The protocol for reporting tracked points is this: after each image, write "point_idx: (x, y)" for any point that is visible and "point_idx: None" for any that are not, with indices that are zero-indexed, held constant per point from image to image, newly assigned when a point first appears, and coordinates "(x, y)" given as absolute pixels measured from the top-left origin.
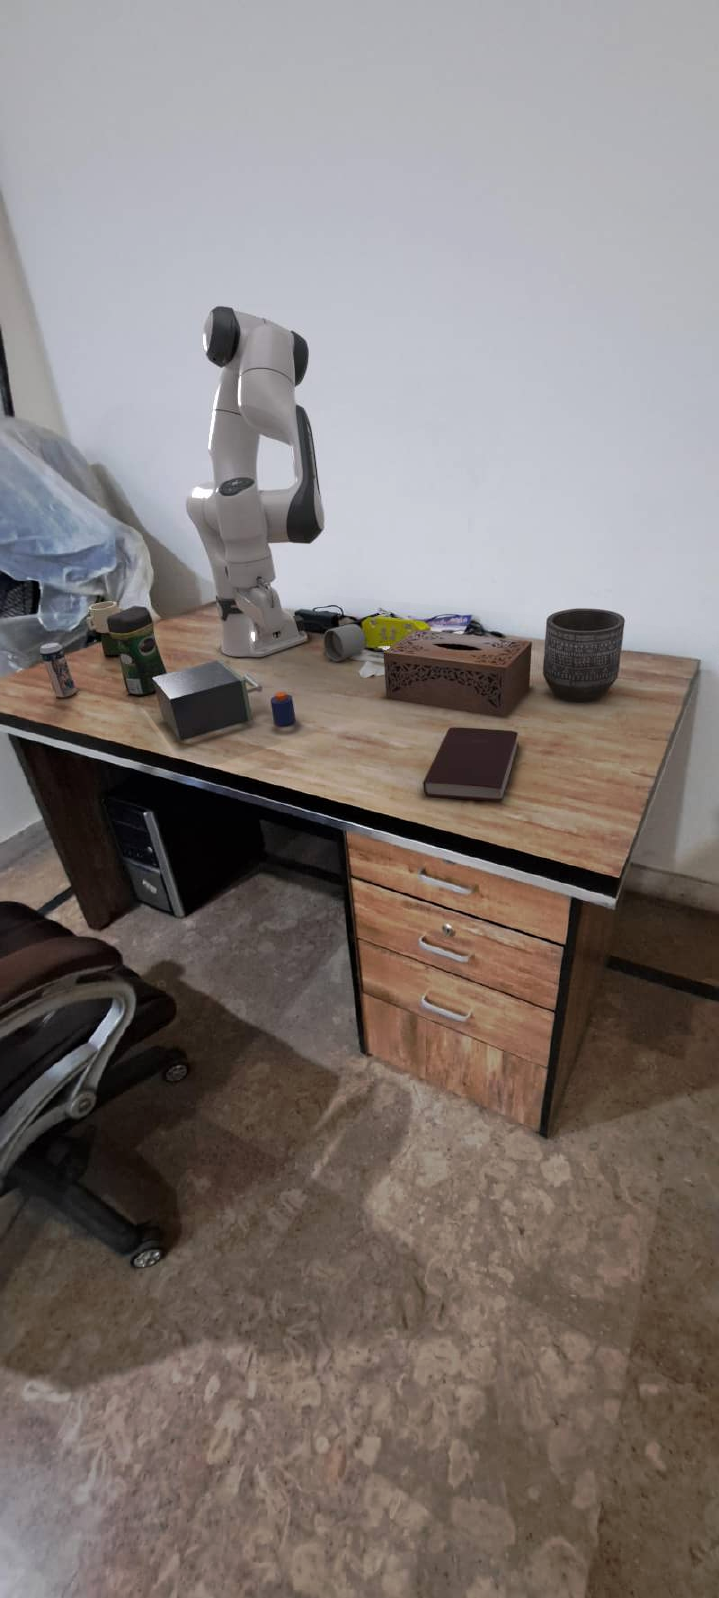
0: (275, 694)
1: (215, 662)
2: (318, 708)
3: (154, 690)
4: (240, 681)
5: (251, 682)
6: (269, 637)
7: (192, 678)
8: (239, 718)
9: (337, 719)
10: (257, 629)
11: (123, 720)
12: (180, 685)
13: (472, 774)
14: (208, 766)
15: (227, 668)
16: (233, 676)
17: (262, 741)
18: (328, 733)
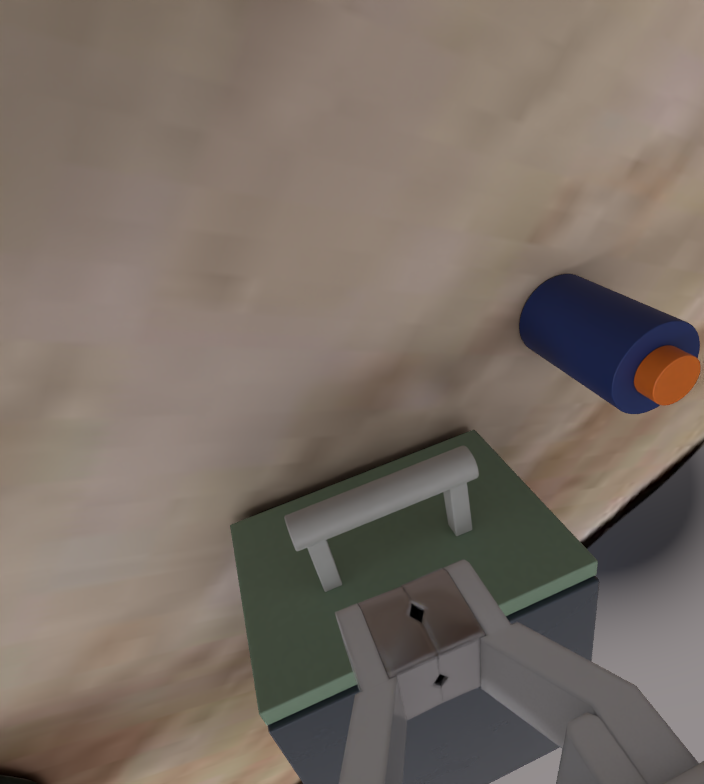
0: (664, 402)
1: (299, 730)
2: (460, 139)
3: (15, 782)
4: (590, 573)
5: (406, 506)
6: (488, 591)
7: (451, 742)
8: None
9: (616, 72)
10: (402, 752)
11: (236, 757)
12: (492, 751)
13: None
14: (613, 512)
15: None
16: (539, 613)
17: (585, 393)
18: (689, 154)
